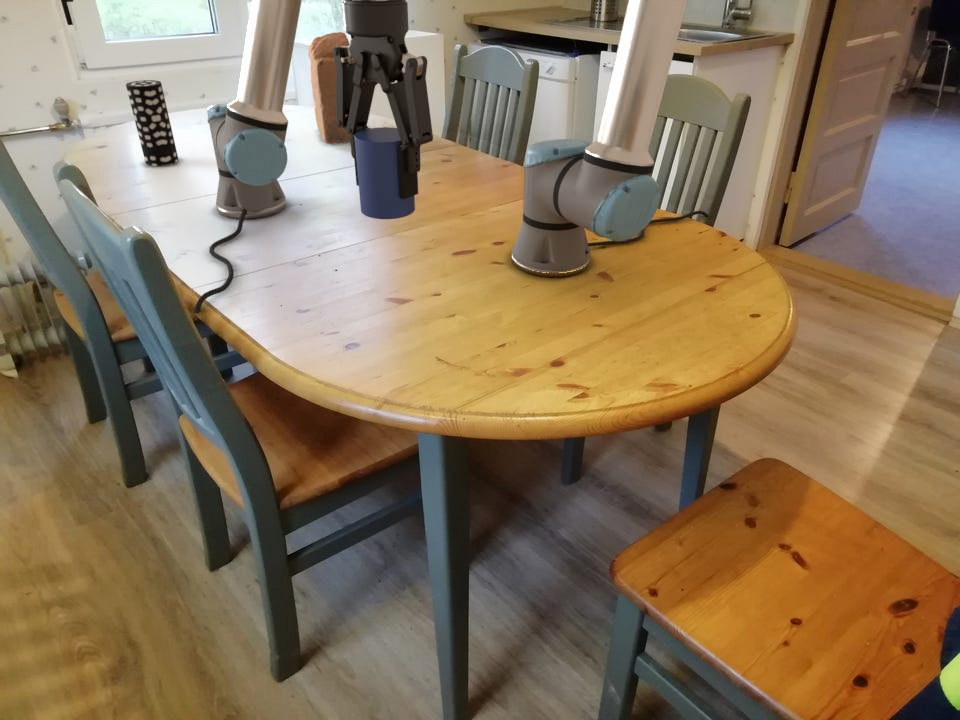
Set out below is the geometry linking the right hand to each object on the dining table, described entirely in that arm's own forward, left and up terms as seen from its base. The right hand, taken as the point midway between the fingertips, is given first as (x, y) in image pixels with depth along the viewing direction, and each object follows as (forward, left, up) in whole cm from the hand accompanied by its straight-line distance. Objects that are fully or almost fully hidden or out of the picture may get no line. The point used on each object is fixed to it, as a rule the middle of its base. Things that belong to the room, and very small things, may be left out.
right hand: (386, 189), depth 92 cm
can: (0, 0, -3) cm, 3 cm away
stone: (-35, -124, -26) cm, 132 cm away
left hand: (+37, -62, +15) cm, 74 cm away
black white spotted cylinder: (+17, -120, -16) cm, 122 cm away
